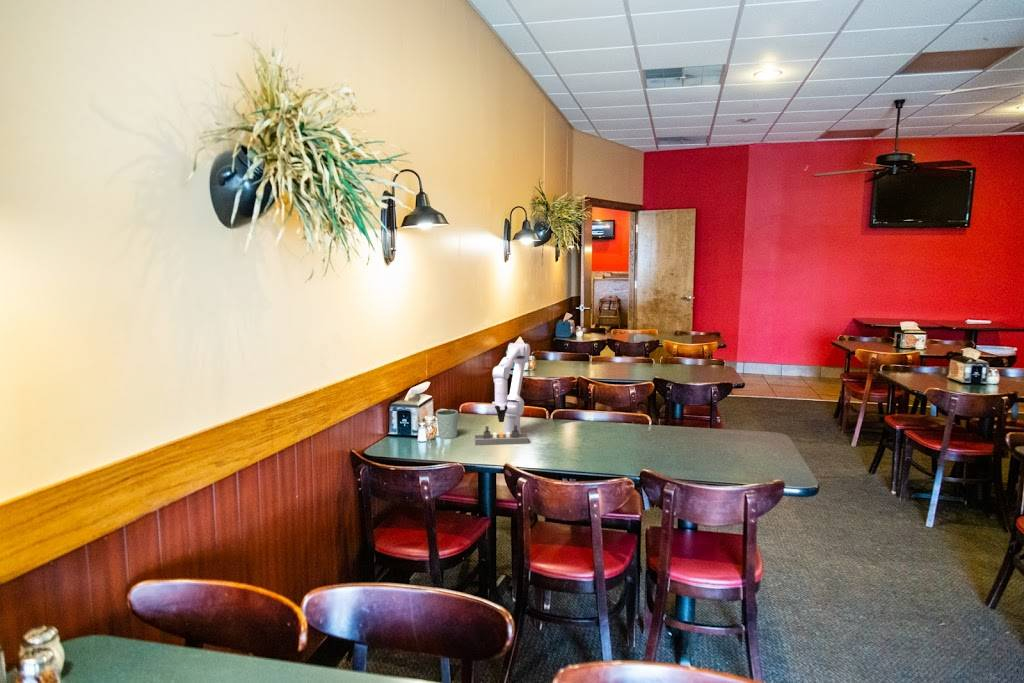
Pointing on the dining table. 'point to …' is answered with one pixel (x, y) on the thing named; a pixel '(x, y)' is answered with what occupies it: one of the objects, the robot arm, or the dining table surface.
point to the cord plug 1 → (487, 432)
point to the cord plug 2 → (515, 432)
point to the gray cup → (447, 423)
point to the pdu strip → (501, 440)
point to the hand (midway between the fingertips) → (501, 421)
